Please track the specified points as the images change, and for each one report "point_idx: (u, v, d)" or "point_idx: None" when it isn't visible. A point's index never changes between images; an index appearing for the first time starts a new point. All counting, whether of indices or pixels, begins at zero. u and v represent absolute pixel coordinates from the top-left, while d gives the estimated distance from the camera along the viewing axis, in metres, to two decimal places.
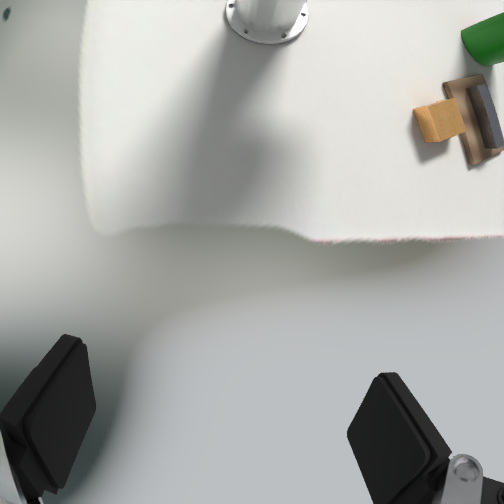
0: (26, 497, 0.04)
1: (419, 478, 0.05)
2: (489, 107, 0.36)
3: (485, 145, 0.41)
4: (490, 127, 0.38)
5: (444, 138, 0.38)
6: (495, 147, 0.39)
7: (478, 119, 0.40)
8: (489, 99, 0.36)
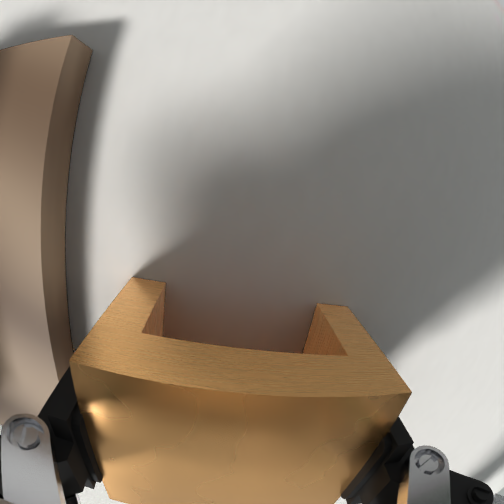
0: (64, 496, 0.04)
1: (380, 467, 0.06)
2: None
3: None
4: None
5: (365, 403, 0.05)
6: None
7: None
8: None
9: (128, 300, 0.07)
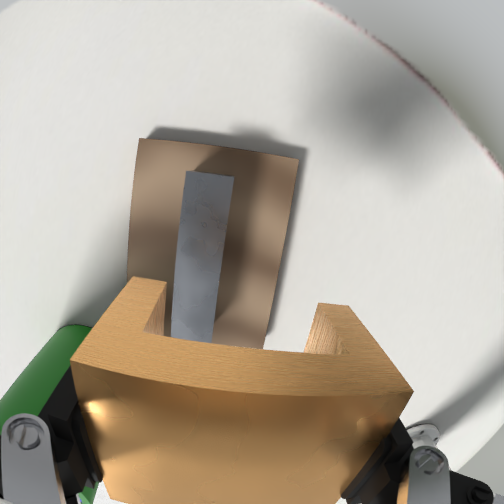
0: (64, 496, 0.04)
1: (380, 467, 0.06)
2: (199, 289, 0.20)
3: None
4: (224, 240, 0.20)
5: (368, 402, 0.05)
6: (233, 181, 0.19)
7: None
8: (182, 306, 0.20)
9: (129, 299, 0.07)
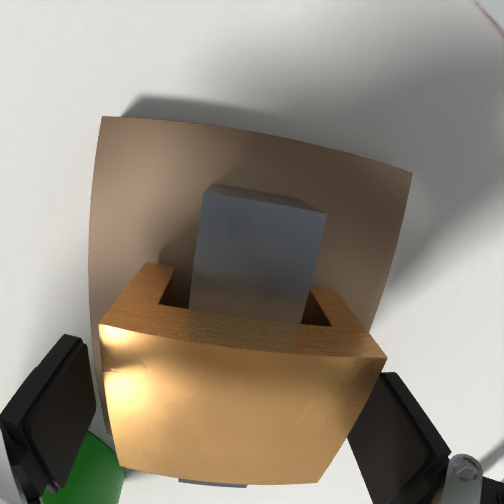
0: (27, 497, 0.04)
1: (419, 478, 0.05)
2: None
3: None
4: None
5: (346, 364, 0.07)
6: None
7: None
8: None
9: (144, 279, 0.09)
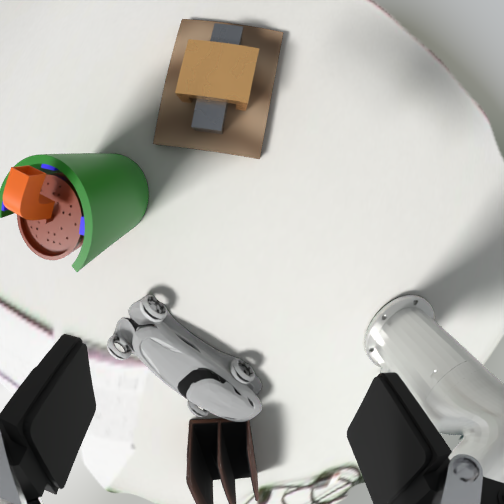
0: (26, 497, 0.04)
1: (419, 478, 0.05)
2: None
3: None
4: None
5: (247, 48, 0.24)
6: (242, 29, 0.25)
7: None
8: (204, 99, 0.27)
9: None
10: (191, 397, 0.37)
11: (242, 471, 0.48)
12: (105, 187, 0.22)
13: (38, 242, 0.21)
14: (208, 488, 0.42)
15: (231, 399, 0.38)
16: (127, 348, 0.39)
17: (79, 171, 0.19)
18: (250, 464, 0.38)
